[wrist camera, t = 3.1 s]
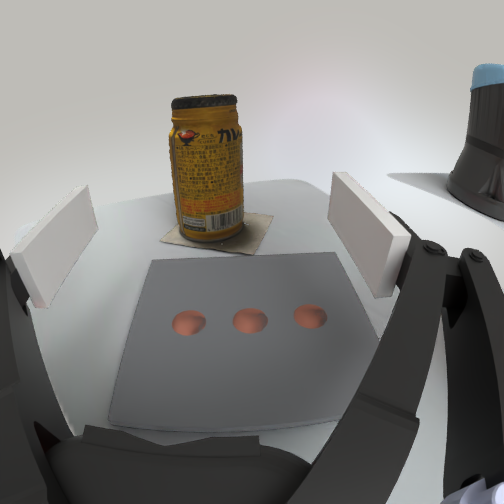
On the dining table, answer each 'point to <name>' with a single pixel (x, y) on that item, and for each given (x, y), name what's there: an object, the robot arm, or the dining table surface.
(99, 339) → the dining table surface
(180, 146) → the condiment
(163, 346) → the marker mat
